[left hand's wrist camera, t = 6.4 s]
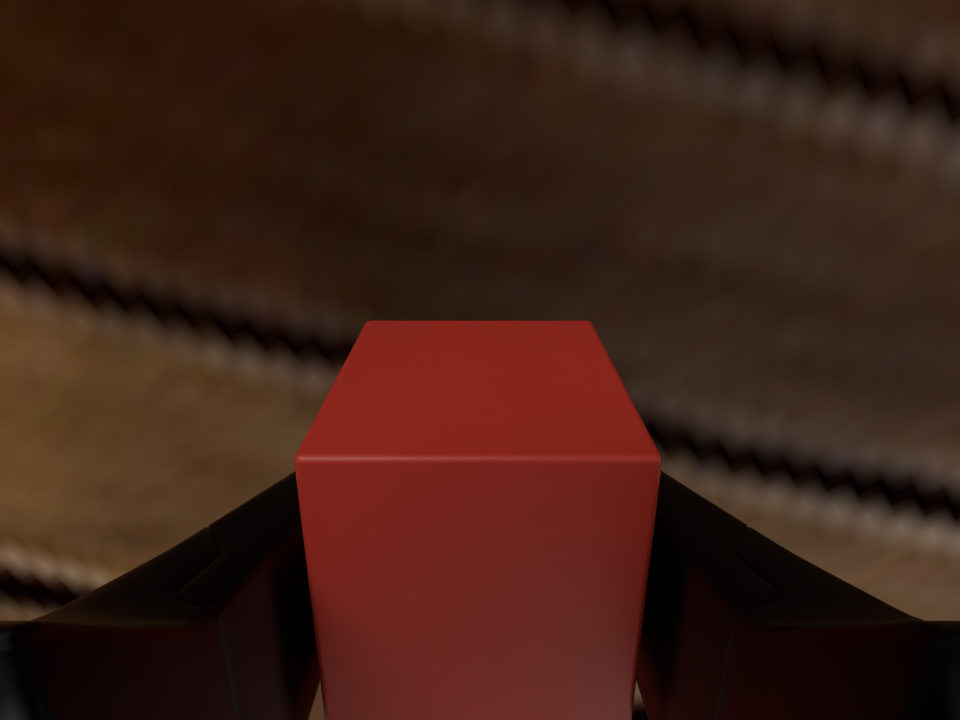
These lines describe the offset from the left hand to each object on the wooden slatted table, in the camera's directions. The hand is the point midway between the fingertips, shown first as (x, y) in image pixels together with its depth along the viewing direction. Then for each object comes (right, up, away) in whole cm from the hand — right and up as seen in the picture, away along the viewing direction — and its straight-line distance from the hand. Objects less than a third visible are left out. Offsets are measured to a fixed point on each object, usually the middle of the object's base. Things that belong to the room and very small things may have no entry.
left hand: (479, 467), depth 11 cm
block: (0, 0, +1) cm, 1 cm away
